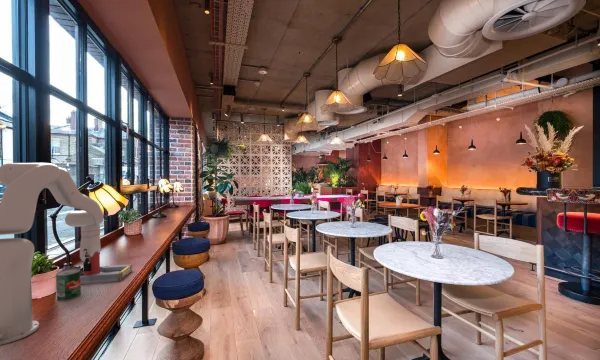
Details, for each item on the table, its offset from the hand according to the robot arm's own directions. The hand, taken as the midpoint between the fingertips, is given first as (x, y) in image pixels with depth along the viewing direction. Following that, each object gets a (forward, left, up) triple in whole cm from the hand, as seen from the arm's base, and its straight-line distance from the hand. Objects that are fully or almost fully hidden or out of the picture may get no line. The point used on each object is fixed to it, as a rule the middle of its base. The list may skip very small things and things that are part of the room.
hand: (91, 268), depth 135 cm
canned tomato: (-22, -2, -5) cm, 23 cm away
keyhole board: (0, -6, -5) cm, 8 cm away
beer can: (0, 0, -4) cm, 4 cm away
